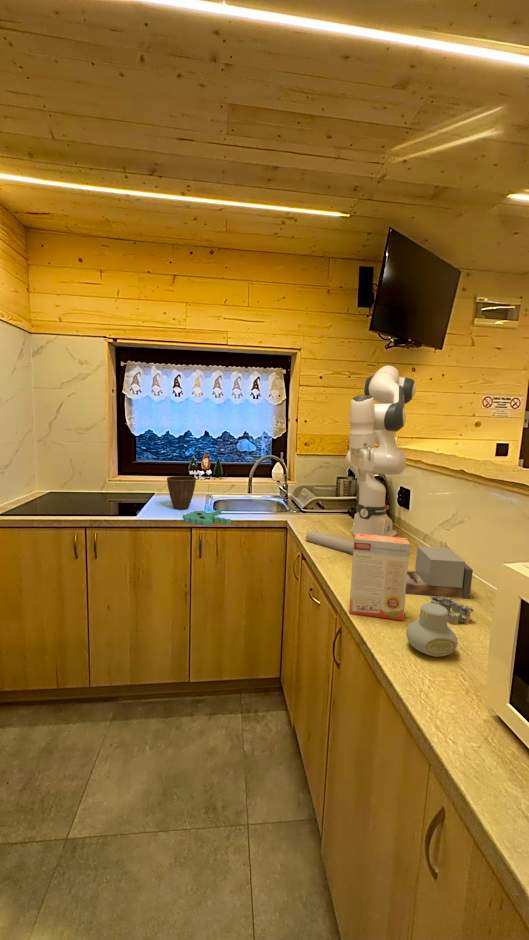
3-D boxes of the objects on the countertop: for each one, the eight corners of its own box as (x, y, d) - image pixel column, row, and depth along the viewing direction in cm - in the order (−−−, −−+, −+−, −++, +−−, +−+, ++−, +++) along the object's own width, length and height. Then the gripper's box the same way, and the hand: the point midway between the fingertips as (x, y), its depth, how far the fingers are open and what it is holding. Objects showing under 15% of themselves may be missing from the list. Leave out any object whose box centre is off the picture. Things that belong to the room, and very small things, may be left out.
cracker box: (401, 611, 116) (408, 537, 113) (403, 621, 110) (410, 543, 108) (349, 604, 119) (354, 531, 116) (348, 613, 113) (354, 537, 111)
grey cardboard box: (427, 585, 127) (430, 559, 126) (415, 569, 140) (417, 545, 139) (462, 587, 126) (465, 561, 125) (446, 571, 139) (448, 547, 138)
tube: (302, 532, 175) (356, 547, 158) (310, 526, 178) (363, 540, 162) (304, 544, 177) (357, 559, 160) (311, 537, 180) (364, 552, 164)
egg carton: (474, 624, 111) (476, 610, 111) (447, 625, 110) (449, 611, 110) (450, 606, 122) (451, 592, 121) (425, 606, 121) (427, 593, 120)
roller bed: (392, 593, 128) (395, 564, 127) (383, 577, 141) (385, 550, 140) (469, 598, 127) (472, 569, 126) (452, 581, 140) (455, 555, 138)
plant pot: (160, 507, 223) (160, 477, 220) (183, 503, 234) (183, 475, 232) (178, 513, 213) (179, 481, 211) (201, 508, 224) (202, 478, 222)
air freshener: (415, 660, 93) (419, 617, 92) (399, 640, 101) (403, 600, 100) (462, 659, 94) (467, 617, 93) (443, 639, 103) (447, 600, 101)
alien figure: (220, 514, 217) (180, 515, 209) (220, 510, 216) (180, 511, 209) (231, 524, 198) (188, 526, 191) (231, 519, 198) (188, 521, 191)
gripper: (379, 445, 140) (379, 486, 143) (364, 438, 160) (364, 474, 163) (360, 446, 140) (360, 487, 142) (347, 439, 160) (347, 475, 163)
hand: (362, 480), depth 153 cm, fingers closed
